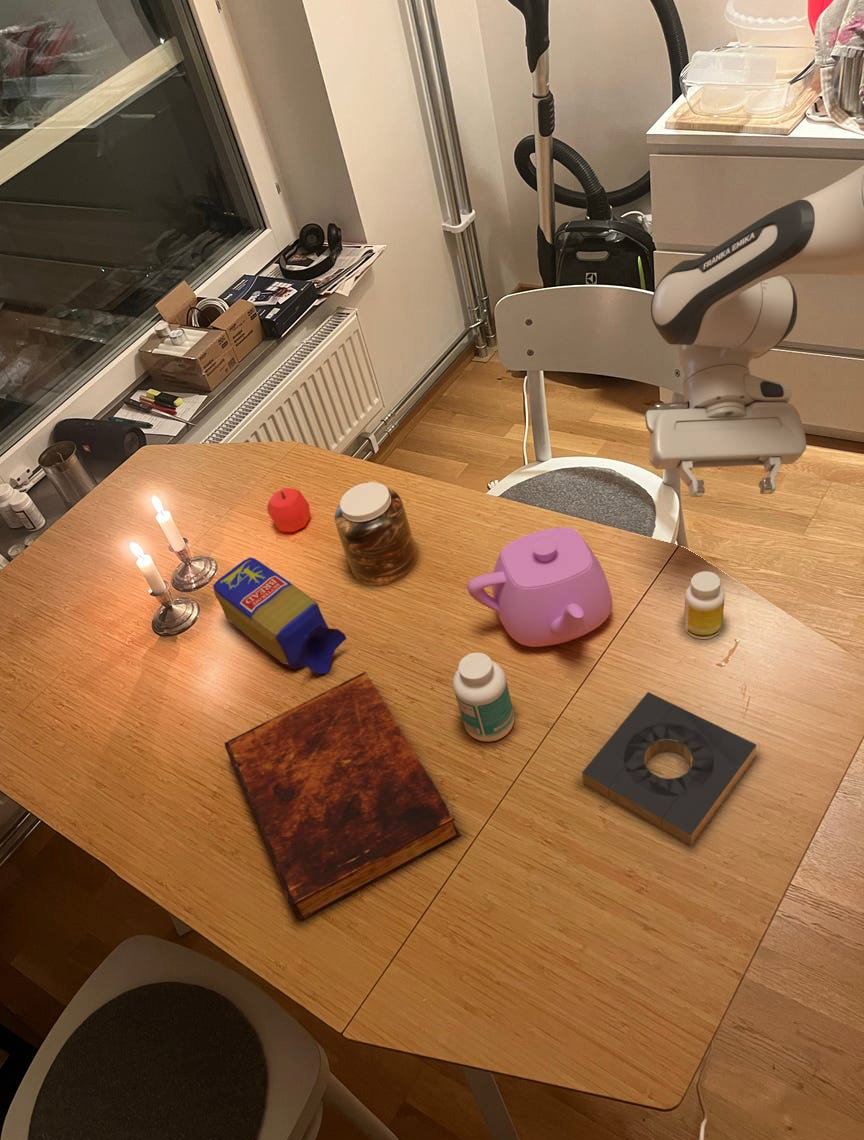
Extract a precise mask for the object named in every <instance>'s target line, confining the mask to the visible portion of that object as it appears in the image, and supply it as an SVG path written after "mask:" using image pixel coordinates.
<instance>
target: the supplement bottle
mask: <svg viewBox="0 0 864 1140" xmlns="http://www.w3.org/2000/svg"><path fill="white" fill-rule="evenodd" d="M721 584H722V583H721V578H720V576H719V575H718V574H717V573H715V572H712V571H708V570H707V571H706V570H705V571H699V572H697V573H695V574H694V575H693V576H692V578H691V579H690V585H689V586H688V587H687V589H686V591H685V594H684V616H683V627H684V631H685V632H686V633H687V634H688V635H690V636H691V637H692V638H695V639H697V640H708V639H711V638H714V637H716V636H717V635H719V634H720V633H721V631H722V628H723V621H724V620H723V619H724V607H725V591H724V589H723V588H722V586H721Z"/></svg>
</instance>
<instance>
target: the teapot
mask: <svg viewBox="0 0 864 1140" xmlns="http://www.w3.org/2000/svg"><path fill="white" fill-rule="evenodd" d="M605 574H606V573H605V571H604V570H603V567H602V565H601V563H600V561H599V559H598V558H597V556H596V555H595V553H594V552H593V550H592V549H591V548H590V546H589V544H588V543H587V542H586V541H585V539H584V538H583V537H582V536H581V534H580V533H579V532H578V531H577V530H576V529H575V528H573V527H568V526H567V527H566V526H561V527H552V528H547V529H542V530H538V531H535V532H531V533H529V534H526V535H523V536H521V537H519V538H516V539H514V540H512V541H511V542H510V543H507V544H506V545H505V546H503V548H502V550H500V553H499V554H498V558H497V560H496V562H495V565H494V569H493V572H489V573H484V574H480V575H478V576H475V577H473V578H471V579H470V580H469V581H468V582H467V584H466V585H467V586H466V589H467V592H468V594H469V595H470V597H472V599H474V600H475V601H476V602H477V603H479V604H481V605H483V606H484V607H486V608H488V609H490V610H492V611H495V612H496V614H497V617H498V619H499V621H500V623H501V624H502V625H503V628H504V629H505V631H506V632H507V634H508V636H510V637H511V638H512V639H513V640H514V641H515V642H516V643H518V644H520V645H521V646H525V647H532V648H537V647H538V648H540V647H548V646H555V645H559V644H560V645H561V644H564V643H568V642H571V641H573V640H575V639H579V638H580V637H583V636H585V635H587V634H589V633H591V632H592V631H595V630H596V629H597V628H599V627H600V626H601V625H602V624H603V623H604V622H606V620H607V619H608V617H609V616H610V615H611V612H612V609H613V597H612V593H611V589H610V586H609V581H608V579H607V577H606V575H605ZM488 587H491V590H492V591H491V592H492V596H491V595H489V594H488V592H487V591H486V590H485V588H488Z"/></svg>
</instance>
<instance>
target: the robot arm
mask: <svg viewBox="0 0 864 1140" xmlns="http://www.w3.org/2000/svg"><path fill="white" fill-rule="evenodd" d="M806 274H807V275H836V276H864V164H863V165H862V166H860V167H858V168H857V169H855V170H854V171H853V172H851V173H849V174H848V175H846V176H844V177H842V178H841V179H839V180H837V181H836V182H834V183H831V184H830V185H828V186H826V187H824V188H822V189H820V190H818V191H816V192H813V193H812V194H809V195H807V196H805V197H802V198H801V199H798V200H794V201H792V202H790V203H788V204H785V205H784V206H780V207H779V208H777V209H774V210H773V211H771V212H769V213H768V214H766V215H764V216H763V217H761V218H759V219H758V220H756V221H754V222H752V223H751V224H750V225H748V226H747V227H745V228H743V229H742V230H741V231H738V233H735V234H734V235H733V236H731V237H730V238H728V239H727V240H725V241H724V242H722V243H721V244H719V245H717V246H716V247H714V248H713V249H711V250H710V251H708V252H707V253H705V254H703V255H702V256H700V257H697V258H694V259H686V260H683V261H681V262H678V263H677V264H676V265H674V266H673V267H672V268H671V269H670V270H668V272H666V274H665V275H663V276H662V278H661V279H660V280H659V282H658V283H657V285H656V287H655V289H654V292H653V294H652V298H651V301H650V316H651V320H652V323H653V325H654V327H655V329H656V331H657V332H658V333H659V335H660V336H661V337H662V339H663V341H665V342H666V343H667V344H668V345H671V346H672V345H674V346H675V345H677V352H678V359H679V364H680V366H681V368H682V370H683V375H684V376H683V382H682V389H683V396H684V397H683V398H684V401H676V402H668V403H667V402H666V403H665V402H658V403H654V405H653V406H650V407H648V409H647V410H646V412H645V414H644V417H645V418H644V421H645V427H646V429H647V431H648V432H649V442H648V443H649V444H648V449H649V451H648V452H649V453H648V457H649V463H650V465H651V466H652V467H654V469H655V470H677V474H678V477H679V478H680V479H681V481H682V482H683V483H684V484H685V485H686V486H687V487H688V491H689V492H688V493H689V497H690V498H700V497H703V495H704V494H705V491H706V490H705V486H704V485H705V482H704V479H698V478H696V476H695V475H694V473H693V472H692V470H693V469H703V468H704V469H705V468H727V467H752V466H763V468H764V472H765V473H766V472H768V474H767V476H766V477H763V478H762V479H761V480H760V481H759V482H758V488H759V489H760V490H759V493H760V495H773V494H774V493H775V492H776V490H777V484H776V477H777V475H778V472H779V470H780V468H781V466H782V465H793V464H795V463H796V462H797V461H798V460H799V459H800V458H801V457H802V456H803V454H804V453H805V451H806V449H807V437H806V434H805V429H804V426H803V422H802V419H801V416H800V413H799V410H797V408H796V407H795V406H794V405H793V404H791V403H789V401H790V400H791V398H792V395H793V394H792V389H791V387H790V386H789V385H787V384H784V383H781V382H777V381H772V380H769V379H766V378H762V377H759V376H756V375H753V374H751V371H750V367H749V365H750V362H751V361H752V360H753V359H758V358H760V357H763V356H764V355H765V354H767V353H768V352H770V351H771V350H772V349H774V348H775V347H777V346H778V345H779V344H781V343H782V342H783V341H784V340H785V339H786V338H787V337H788V335H789V334H790V333H791V332H792V331H793V329H794V327H795V325H796V321H797V317H798V299H797V293H796V290H795V288H794V285H793V284H792V282H791V280H790V279H788V278H787V276H788V275H806Z"/></svg>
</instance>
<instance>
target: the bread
mask: <svg viewBox="0 0 864 1140" xmlns="http://www.w3.org/2000/svg"><path fill="white" fill-rule="evenodd" d="M212 587H213V592H214V596H215V598H216V600H217V601H218V603H219V605H220V606H221V609H222V611H223V613H224V616H225V618H226V619H227V620H228V621H229V622H230V623H231V624H233V625H234V626H235V627H236V628H238V629H239V630H240V631H241V632H243V634H245V635H246V636H247V637H248V638H249V639H250V640H252V641H253V642H255V643H256V644H257V645H259V646H260V647H261V648H262V649H264V650H265V651H266V652H267V653H268V654H270V655H271V656H273V657H274V658H275V659H277V660H278V661H279V662H281V663H282V664H283V665H285V666H286V667H288V668H290V669H293V670H295V671H296V670H298V669H302V668H304V667H306V668H308V669H310V670H311V671H313V672H314V673H315V674H321V675H325V674H328V673H331V663H332V658H333V656H334V654H335V652H336V650H337V649H338V648H339V647H340V646H341V645H342V643H343V642H345V641H346V640H347V636H346V634H345V633H344V632H342V631H341V630H339V629H338V628H329V626H328V624H327V622H326V619H324V616H323V614H322V611H321V609H320V605H319V603H318V602H317V601H316V600H314V599H313V597H311V596H310V595H308V594H306V593H305V592H304V591H303V590H301V589H300V588H298V587H297V586H296V585H295V584H294V583H292V582H290V581H289V580H287V579H286V578H284V577H283V576H281V575H280V574H278V572H276V571H274V570H273V569H271V568H270V567H268V566H267V565H265V564H264V563H262V562H261V561H260V560H258V559H256V558H255V557H248V558H246V559H244V560H242V561H241V562H239V563H238V564H237V565H236V566H234V567H233V568H232V569H231V570H229V571H227V573H225V574H224V575H223V576H221V577H220V578H219V579H217V580H216V582H215V583H213V584H212Z"/></svg>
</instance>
